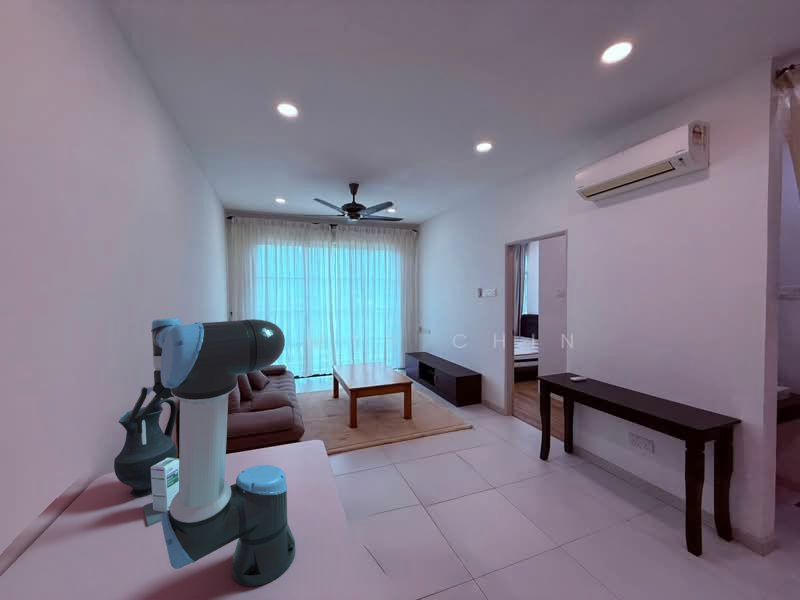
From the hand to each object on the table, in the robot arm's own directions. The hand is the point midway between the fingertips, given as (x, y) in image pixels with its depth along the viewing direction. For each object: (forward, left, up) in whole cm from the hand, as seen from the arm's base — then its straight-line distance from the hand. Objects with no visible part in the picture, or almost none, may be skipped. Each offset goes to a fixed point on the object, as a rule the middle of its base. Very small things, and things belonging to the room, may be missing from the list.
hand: (171, 435), depth 99 cm
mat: (+6, +1, -26) cm, 26 cm away
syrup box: (+6, +1, -25) cm, 26 cm away
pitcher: (+25, +3, -26) cm, 36 cm away
